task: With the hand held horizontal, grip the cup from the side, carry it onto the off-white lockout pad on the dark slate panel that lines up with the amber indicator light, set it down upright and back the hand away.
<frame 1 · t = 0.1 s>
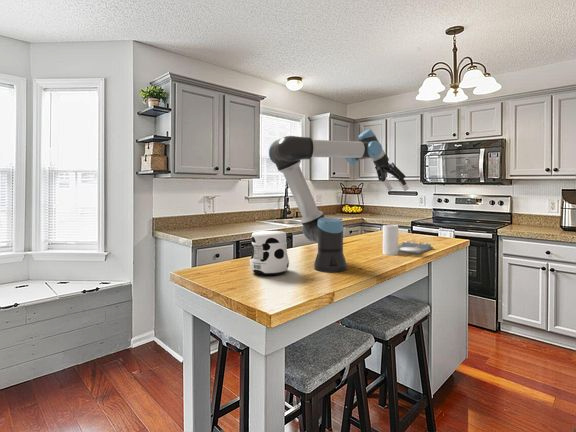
hand: (398, 189, 189), 36 cm above the table, tool tilted 35°, fingers open, 13 cm apart
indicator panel: (410, 249, 207), on the table
cup: (390, 254, 197), on the table
milk container: (269, 273, 157), on the table
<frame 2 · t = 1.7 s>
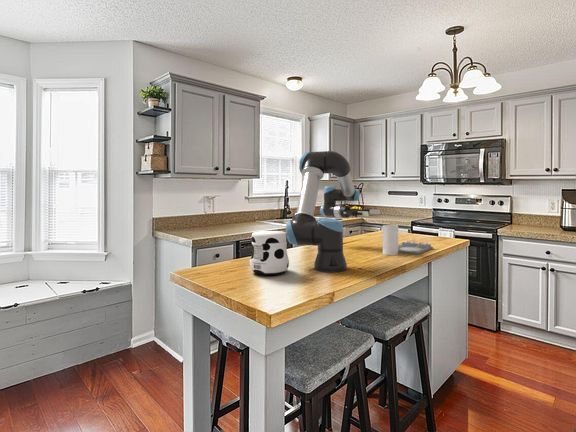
hand: (374, 213, 201), 23 cm above the table, tool horizontal, fingers open, 13 cm apart
nothing on the table moved.
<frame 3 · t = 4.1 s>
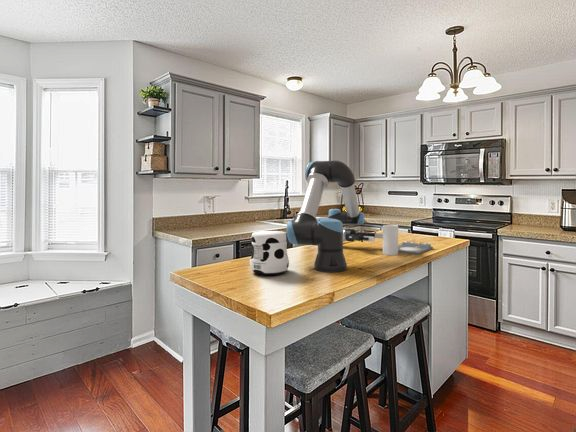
hand: (380, 237, 201), 8 cm above the table, tool horizontal, fingers open, 13 cm apart
nothing on the table moved.
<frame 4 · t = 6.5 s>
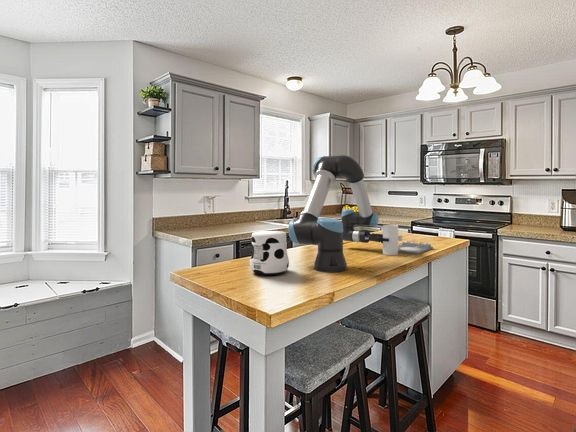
hand: (398, 239, 193), 9 cm above the table, tool horizontal, fingers closed on cup, 8 cm apart
cup: (390, 254, 197), on the table, touching gripper
everything else where it was.
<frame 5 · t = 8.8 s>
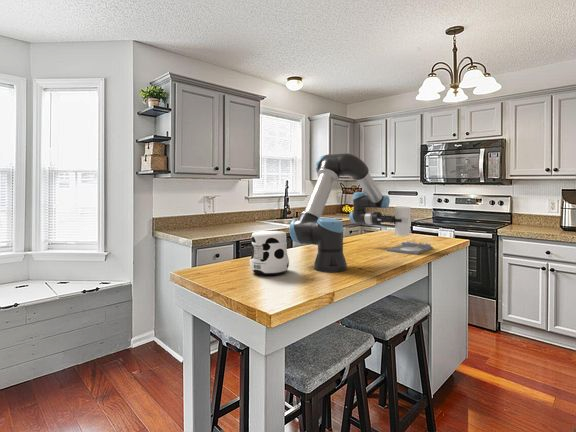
hand: (410, 220, 197), 19 cm above the table, tool horizontal, fingers closed on cup, 8 cm apart
cup: (402, 234, 201), point 10 cm above the table, touching gripper
everything else where it was.
when the fingers open (11 cm above the table, at t = 11.4 s): cup stays where it is, resting on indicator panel.
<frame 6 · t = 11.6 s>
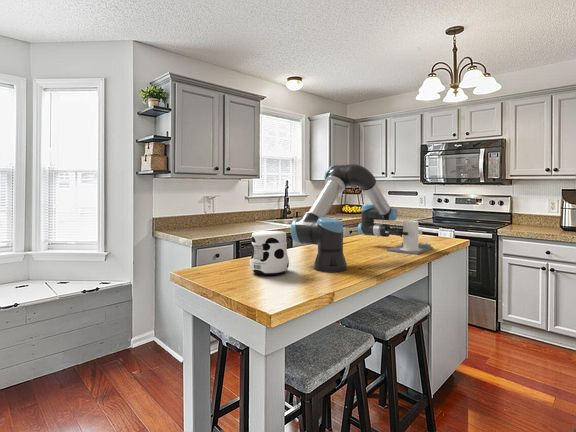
hand: (418, 233, 199), 11 cm above the table, tool horizontal, fingers open, 10 cm apart
cup: (410, 249, 203), point 1 cm above the table, touching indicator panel
everything else where it was.
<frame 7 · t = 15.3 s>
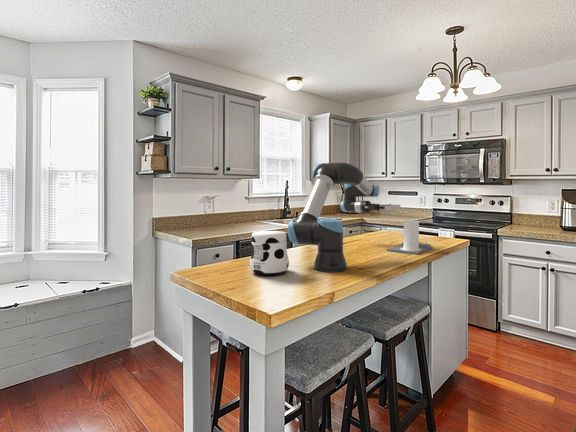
hand: (395, 207, 208), 25 cm above the table, tool horizontal, fingers open, 13 cm apart
nothing on the table moved.
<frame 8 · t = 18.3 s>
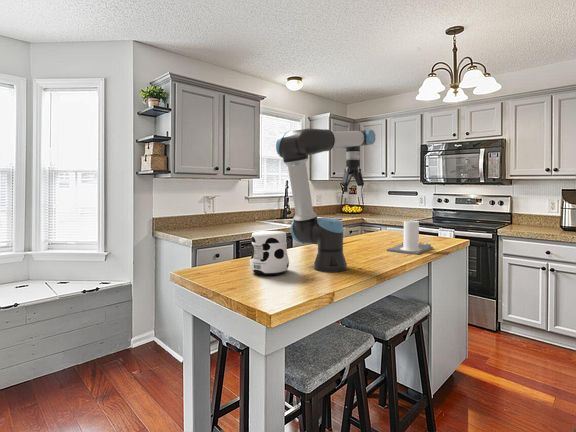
hand: (353, 197, 198), 32 cm above the table, tool pointing down, fingers open, 13 cm apart
nothing on the table moved.
at the end: cup inside the target area (0.1 cm from its centre), point 1.2 cm above the table; cup tilted 0°; the gripper is holding nothing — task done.
